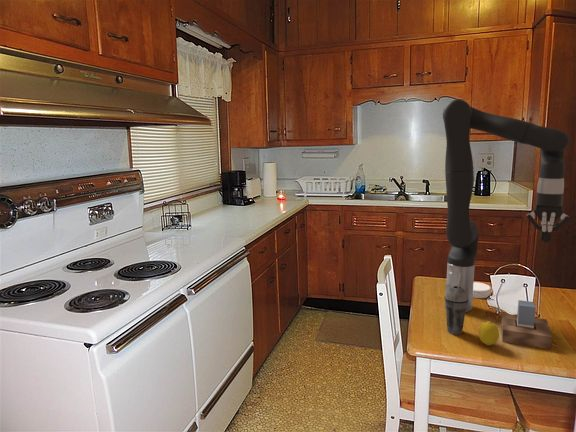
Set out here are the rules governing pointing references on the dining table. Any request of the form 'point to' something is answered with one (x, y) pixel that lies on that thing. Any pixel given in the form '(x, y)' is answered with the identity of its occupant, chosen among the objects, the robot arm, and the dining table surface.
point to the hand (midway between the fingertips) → (545, 242)
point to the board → (526, 332)
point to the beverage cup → (455, 308)
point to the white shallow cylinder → (481, 290)
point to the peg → (525, 314)
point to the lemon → (489, 333)
